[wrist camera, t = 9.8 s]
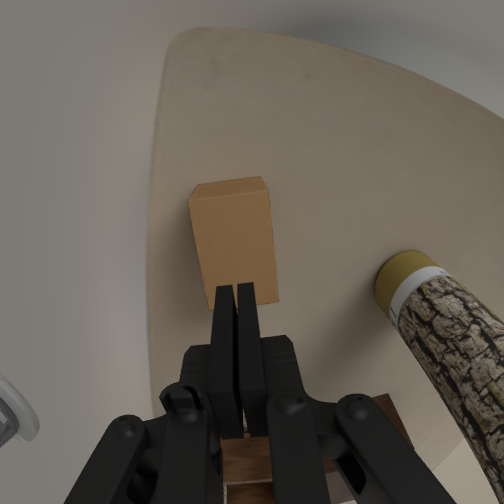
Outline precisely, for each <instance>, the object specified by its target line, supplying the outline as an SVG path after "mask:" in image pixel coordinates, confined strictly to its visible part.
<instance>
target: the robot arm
mask: <svg viewBox="0 0 504 504" xmlns="http://www.w3.org/2000/svg"><path fill="white" fill-rule="evenodd" d="M237 311H238V315H237ZM182 365H183V366H182V369H181V374H180V380H179V382H176V383H173V384H171V385H169V386H167V387H166V388H165V389H164V390H163V391H162V392H161V394H160V396H159V398H160V400H161V403H162V405H163V407H164V409H165V411H166V414H165V415H163V416H161V417H158V418H155V419H151V420H147V421H142V420H141V419H140V418H139V417H137V416H135V415H123V416H120V417H118V418H116V419H114V420H113V421H112V422H111V424H110V425H109V426H108V428H107V429H106V431H105V433H104V435H103V436H102V438H101V440H100V441H99V443H98V445H97V446H96V448H95V450H94V451H93V453H92V455H91V457H90V458H89V460H88V462H87V464H86V465H85V467H84V469H83V470H82V472H81V474H80V476H79V477H78V479H77V481H76V483H75V484H74V486H73V488H72V490H71V492H70V493H69V495H68V497H67V498H66V500H65V502H64V504H224V494H223V451H222V447H221V445H220V434H221V437H222V439H223V440H228V439H242V438H244V426H243V409H244V413H245V418H246V422H247V426H248V431H249V435H250V438H253V437H263V436H269V447H270V458H271V469H272V480H273V492H274V503H275V504H331V501H330V496H329V491H328V486H327V481H326V476H325V472H324V467H323V462H322V458H330V459H331V460H332V462H333V463H334V465H335V467H336V469H337V470H338V472H339V474H340V475H341V477H342V479H343V480H344V482H345V484H346V486H347V487H348V489H349V491H350V492H351V494H352V496H353V497H354V499H355V501H356V502H357V504H457V503H456V502H455V501H454V500H453V498H452V497H451V496H450V495H449V493H448V492H447V491H446V490H445V488H444V487H443V486H442V485H441V483H440V482H439V481H438V480H437V478H436V477H435V476H434V474H433V473H432V472H431V471H430V469H429V468H428V467H427V466H426V464H425V463H424V462H423V461H422V459H421V458H420V457H419V456H418V454H417V453H416V452H415V451H414V449H413V448H412V447H411V446H410V444H409V443H408V442H407V441H406V439H405V438H404V437H403V435H402V434H401V433H400V432H399V430H398V429H397V428H396V427H395V425H394V424H393V423H392V422H391V420H390V419H389V418H388V417H387V415H386V414H385V413H384V412H383V410H382V409H381V408H380V407H379V405H378V404H377V403H376V402H375V401H374V400H373V399H372V398H371V397H369V396H367V395H364V394H350V395H346V396H345V397H343V398H341V399H340V400H339V401H338V403H328V402H321V401H317V400H314V399H312V398H311V397H310V396H308V395H307V393H306V392H305V390H304V388H303V384H302V380H301V376H300V371H299V367H298V363H297V359H296V355H295V351H294V347H293V343H292V341H291V340H290V339H289V338H288V337H287V336H286V335H280V336H272V337H265V338H260V330H259V322H258V314H257V306H256V299H255V291H254V283H253V282H248V283H240V284H237V309H236V303H235V297H234V291H233V285H232V284H231V285H223V286H216V294H215V303H214V313H213V323H212V333H211V344H206V345H194V346H190V347H189V349H188V350H187V351H186V353H185V354H184V358H183V363H182ZM19 426H20V425H19V421H18V419H17V417H16V415H15V414H14V412H13V411H12V410H11V408H10V407H9V406H8V405H7V404H6V402H5V401H4V400H3V399H2V398H1V397H0V447H1V446H2V445H4V444H5V443H6V442H7V441H8V440H10V439H11V438H12V437H13V436H14V435H15V434H16V433H17V431H18V429H19Z"/></svg>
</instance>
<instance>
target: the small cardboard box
mask: <svg viewBox="0 0 504 504" xmlns="http://www.w3.org/2000/svg"><path fill="white" fill-rule="evenodd" d="M188 207H189V212H190V218H191V223H192V229H193V234H194V239H195V244H196V250H197V255H198V260H199V265H200V270H201V274H202V279H203V284H204V289H205V293H206V298H207V303H208V307H209V310H210V311H211V310H214V303H215V294H216V286H223V285H231V284H232V285H233V291H234V297H235V303H236V308H237V284H240V283H248V282H253V283H254V291H255V299H256V305H261V304H269V303H276V302H279V294H278V283H277V273H276V262H275V252H274V241H273V231H272V221H271V212H270V202H269V193H268V189H267V187H266V185H265V183H264V181H263V179H262V178H261V176H260V177H252V178H244V179H236V180H229V181H221V182H214V183H207V184H201V185H197V187H196V189H195V190H194V192H193V193H192V195H191V196H190V198H189V200H188Z"/></svg>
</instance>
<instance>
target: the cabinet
mask: <svg viewBox="0 0 504 504" xmlns="http://www.w3.org/2000/svg"><path fill="white" fill-rule="evenodd" d="M372 399H373V400H374V401H375V402H376V403H377V404H378V405H379V407H380V408H381V409H382V410H383V412H384V413H385V414H386V415H387V417H388V418H389V419H390V420H391V422H392V423H393V424H394V425H395V427H396V428H397V429H398V430H399V432H400V433H401V434H402V435H403V437H404V438H405V439H406V441H407V442H408V443H409V444H410V446H411V447H412V448H413V449H414V446H413V444H412V442H411V440H410V438H409V436H408V434H407V431H406V429H405V427H404V425H403V423H402V421H401V419H400V417H399V415H398V413H397V410H396V408H395V406H394V404H393V402H392V400H391V398H390V396H389V394H385V395H381V396H377V397H373V398H372ZM322 462H323V467H324V472H325V476H326V481H327V486H328V491H329V496H330V501H331V504H339V503H343V502H347V501H351V500H355V499H354V497H353V496H352V494H351V492H350V491H349V489H348V487H347V486H346V484H345V482H344V480H343V479H342V477H341V475H340V474H339V472H338V470H337V469H336V467H335V465H334V463H333V462H332V460H331V459H330V458H322Z"/></svg>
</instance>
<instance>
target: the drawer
mask: <svg viewBox="0 0 504 504" xmlns="http://www.w3.org/2000/svg"><path fill="white" fill-rule="evenodd" d="M220 445H221V447H222V451H223V485H227V504H275V503H274V492H273V480H272V469H271V458H270V447H269V436H263V437H253V438H250V435H249V433H244V438H242V439H228V440H223V439H222V437H221V435H220Z"/></svg>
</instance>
